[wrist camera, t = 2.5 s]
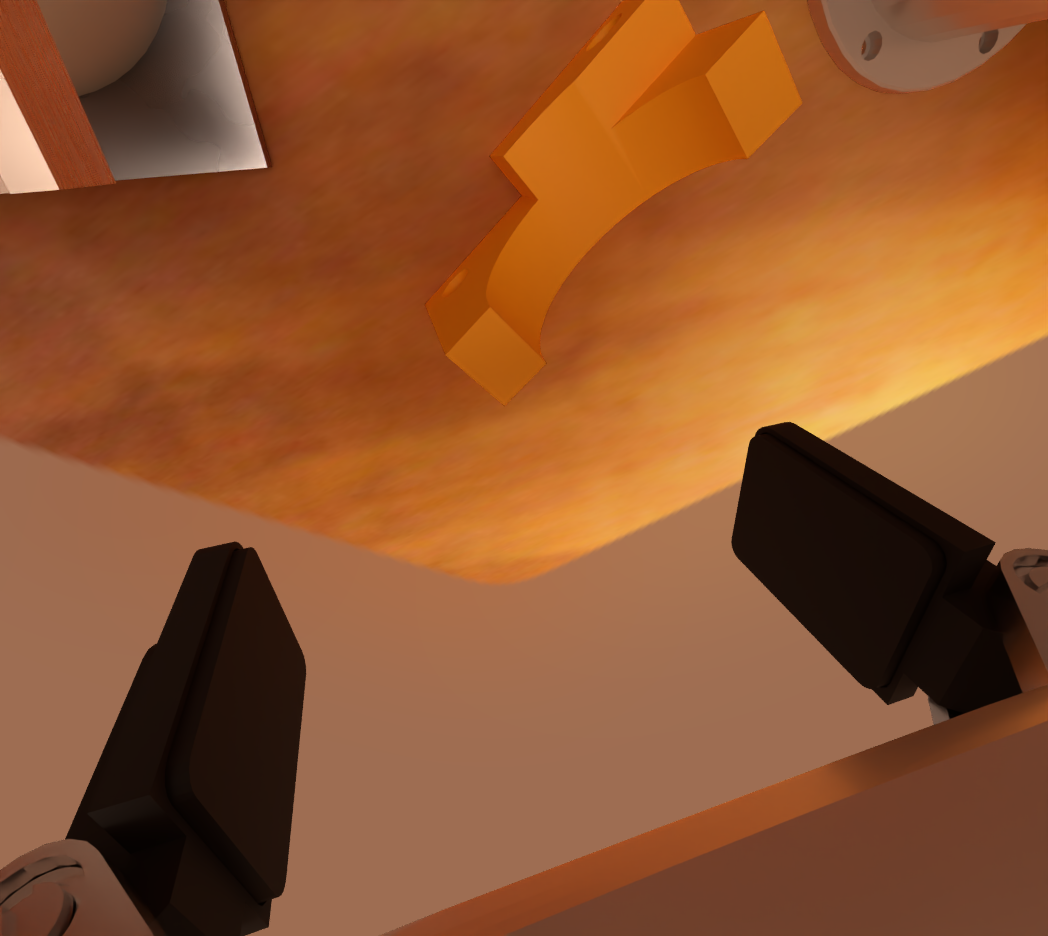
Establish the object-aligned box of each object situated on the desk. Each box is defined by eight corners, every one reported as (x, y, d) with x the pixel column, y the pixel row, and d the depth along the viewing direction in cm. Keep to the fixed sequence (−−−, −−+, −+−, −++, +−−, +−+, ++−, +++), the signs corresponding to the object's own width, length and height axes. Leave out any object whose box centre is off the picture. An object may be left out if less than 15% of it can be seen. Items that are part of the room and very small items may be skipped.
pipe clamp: (619, 2, 17) (733, -65, 12) (683, 117, 20) (802, 103, 14) (389, 271, 20) (398, 315, 14) (470, 345, 22) (504, 406, 17)
